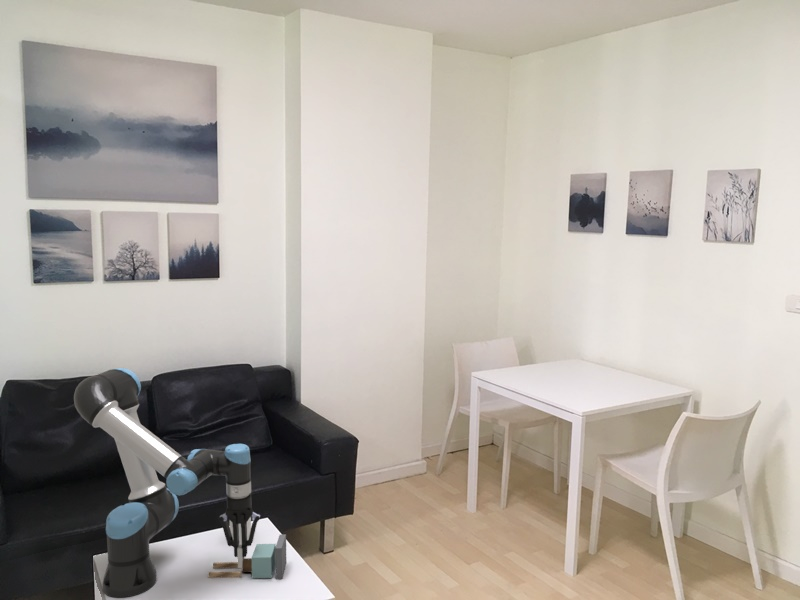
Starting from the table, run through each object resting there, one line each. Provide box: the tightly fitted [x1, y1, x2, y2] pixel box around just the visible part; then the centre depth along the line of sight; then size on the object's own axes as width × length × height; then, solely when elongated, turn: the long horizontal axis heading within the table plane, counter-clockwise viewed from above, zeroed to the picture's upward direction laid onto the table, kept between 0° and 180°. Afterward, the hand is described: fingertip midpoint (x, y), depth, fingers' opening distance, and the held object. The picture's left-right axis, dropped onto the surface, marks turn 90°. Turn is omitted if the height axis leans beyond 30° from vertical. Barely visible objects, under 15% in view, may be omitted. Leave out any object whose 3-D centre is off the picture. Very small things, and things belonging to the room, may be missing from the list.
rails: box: [207, 561, 242, 579], centre depth 204 cm, size 10×6×2 cm, turn 92°
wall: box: [275, 534, 287, 580], centre depth 204 cm, size 2×9×10 cm, turn 2°
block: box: [251, 543, 277, 579], centre depth 204 cm, size 6×9×7 cm
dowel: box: [241, 557, 252, 573], centre depth 204 cm, size 8×4×4 cm, turn 92°
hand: (241, 565), depth 204 cm, fingers closed
